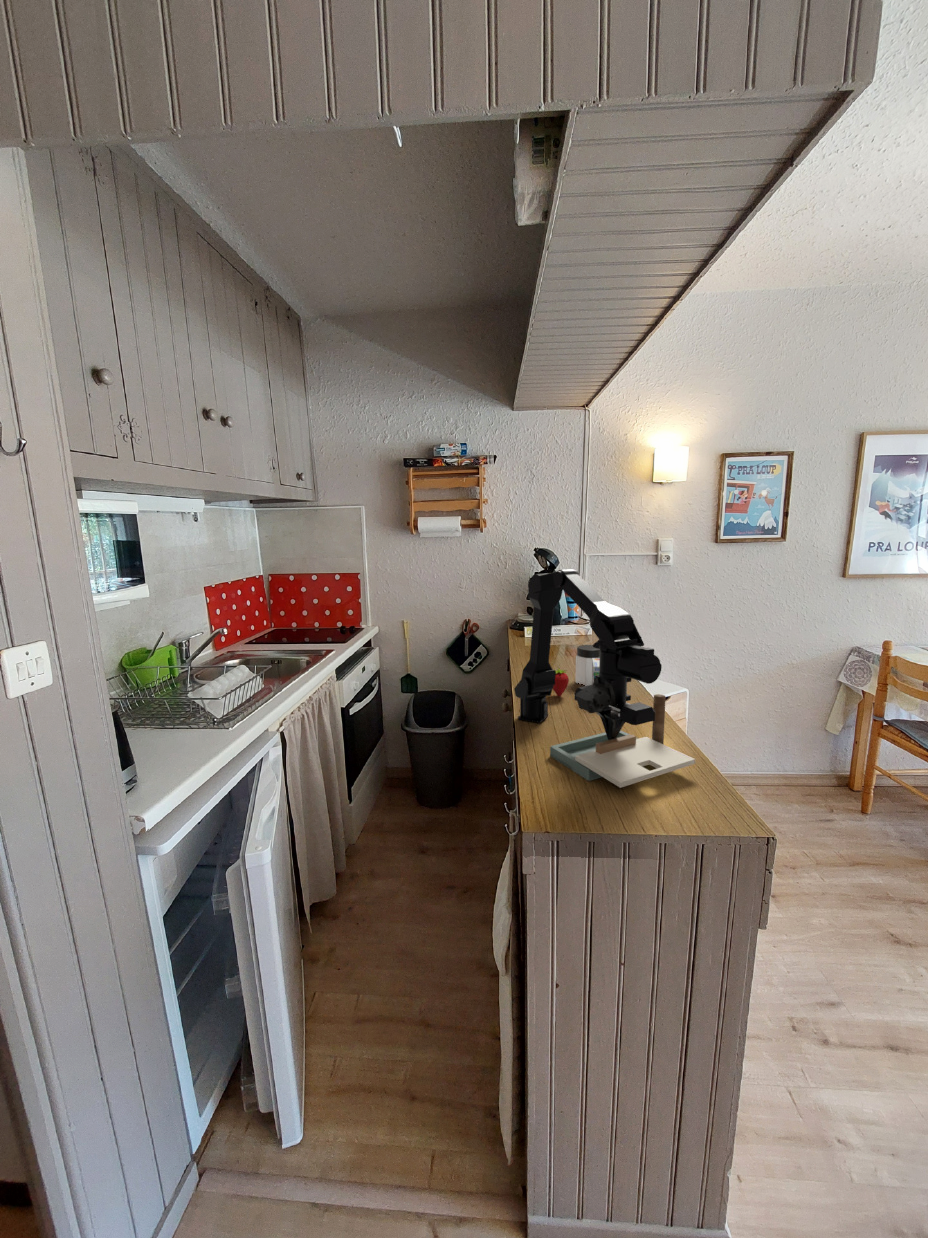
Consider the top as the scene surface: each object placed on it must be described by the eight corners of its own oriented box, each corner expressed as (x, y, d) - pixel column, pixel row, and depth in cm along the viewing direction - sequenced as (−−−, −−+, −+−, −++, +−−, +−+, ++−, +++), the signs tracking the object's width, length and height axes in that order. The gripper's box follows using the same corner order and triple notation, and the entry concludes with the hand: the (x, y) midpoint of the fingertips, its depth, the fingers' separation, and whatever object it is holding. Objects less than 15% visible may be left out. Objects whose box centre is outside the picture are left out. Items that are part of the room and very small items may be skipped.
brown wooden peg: (649, 747, 116) (651, 695, 114) (657, 745, 117) (659, 693, 115) (657, 751, 113) (659, 698, 111) (665, 749, 114) (668, 696, 112)
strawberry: (550, 700, 149) (550, 668, 147) (547, 692, 156) (547, 661, 155) (570, 700, 149) (571, 668, 147) (566, 692, 156) (566, 661, 154)
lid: (575, 760, 104) (575, 747, 104) (645, 740, 113) (646, 729, 112) (620, 787, 92) (620, 773, 92) (694, 763, 101) (695, 750, 101)
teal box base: (550, 756, 112) (550, 746, 112) (617, 738, 121) (618, 729, 120) (588, 781, 101) (588, 770, 100) (660, 759, 109) (660, 749, 109)
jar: (599, 678, 170) (600, 644, 168) (605, 686, 162) (606, 650, 160) (572, 679, 170) (573, 645, 168) (578, 686, 162) (578, 650, 160)
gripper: (555, 667, 110) (555, 733, 113) (615, 689, 94) (613, 766, 96) (594, 660, 115) (593, 724, 118) (658, 680, 99) (655, 754, 101)
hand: (611, 741), depth 108 cm, fingers closed
